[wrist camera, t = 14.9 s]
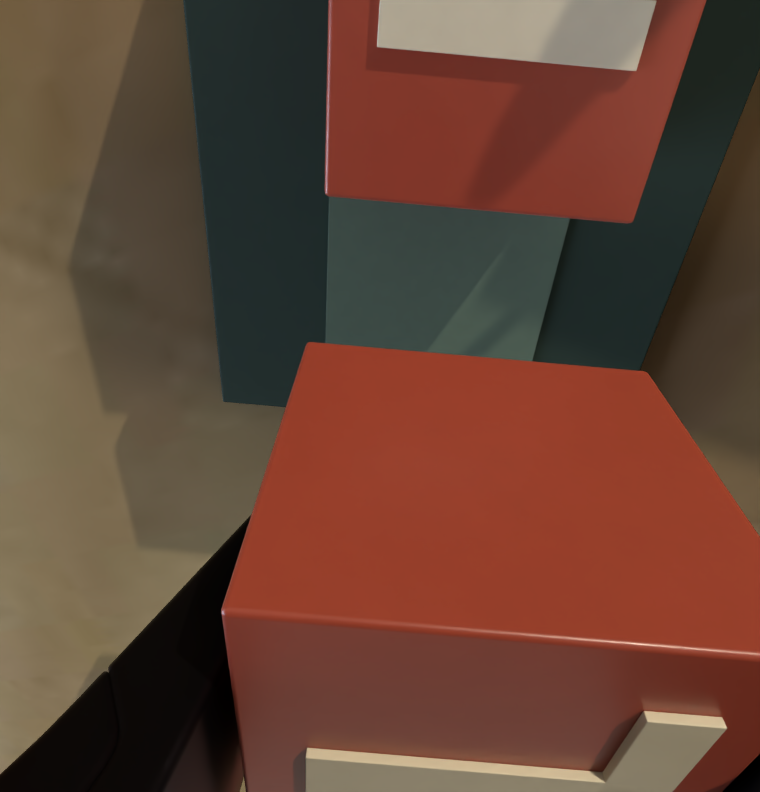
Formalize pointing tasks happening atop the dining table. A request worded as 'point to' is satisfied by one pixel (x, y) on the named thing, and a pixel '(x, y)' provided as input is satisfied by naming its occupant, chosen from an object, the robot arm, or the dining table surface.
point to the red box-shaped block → (502, 101)
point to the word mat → (426, 218)
